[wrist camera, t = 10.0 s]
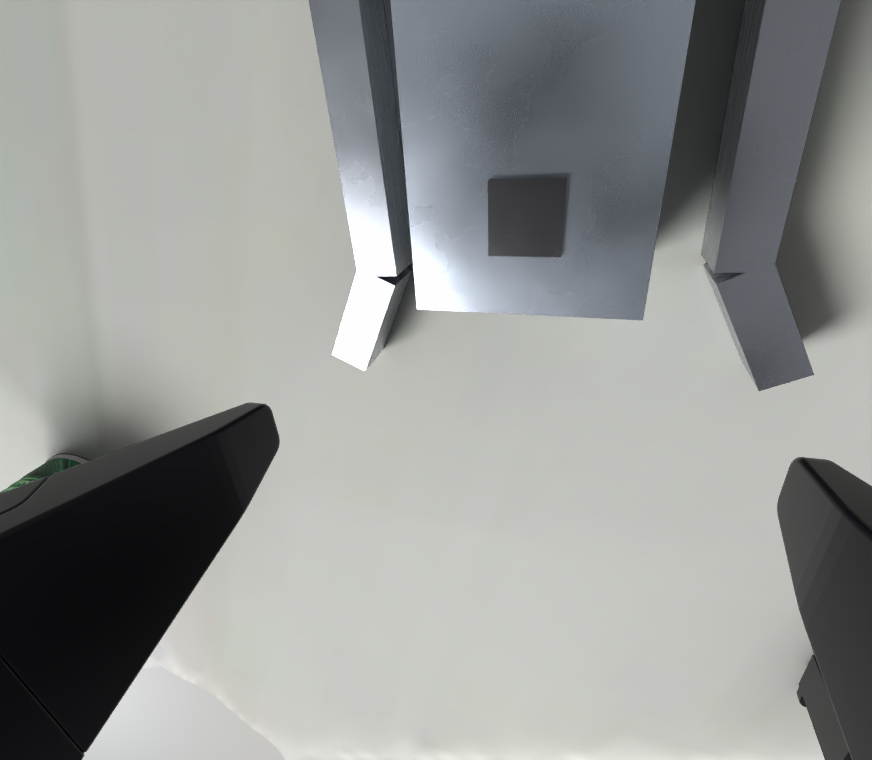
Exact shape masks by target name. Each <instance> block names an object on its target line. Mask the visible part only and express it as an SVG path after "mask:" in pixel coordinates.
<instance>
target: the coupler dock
mask: <svg viewBox="0 0 872 760" xmlns="http://www.w3.org/2000/svg"><path fill="white" fill-rule="evenodd" d="M840 3H841V0H745V4H744V10H743V16H742V22H741V28H740V33H739V39H738V45H737V51H736V56H735V62H734V68H733V74H732V80H731V85H730V91H729V97H728V103H727V108H726V114H725V120H724V126H723V131H722V137H721V143H720V149H719V155H718V160H717V166H716V172H715V178H714V183H713V189H712V195H711V201H710V207H709V212H708V218H707V224H706V230H705V235H704V241H703V247H702V253H701V255H702V256H703V258H704V259H705V261H706V262H707V264H705V265H704V268H705V270H706V273H707V275H708V278H709V280H710V283H711V285H712V288H713V290H714V293H715V295H716V297H717V300H718V302H719V305H720V307H721V310H722V312H723V315H724V317H725V320H726V322H727V325H728V327H729V330H730V332H731V335H732V337H733V340H734V342H735V345H736V347H737V350H738V352H739V355H740V357H741V360H742V362H743V364H744V366H745V368H746V369H747V371H748V373H749V375H750V376H751V378H752V380H753V382H754V383H755V385H756V387H757V389H758V390H759V391H761V390H765V389H768V388H771V387H775V386H778V385H781V384H785V383H788V382H791V381H795V380H798V379H801V378H805V377H808V376H811V375H814V373H813V371H812V368H811V365H810V362H809V359H808V356H807V353H806V351H805V348H804V345H803V342H802V339H801V336H800V333H799V331H798V328H797V325H796V322H795V319H794V316H793V313H792V311H791V308H790V305H789V302H788V299H787V296H786V293H785V291H784V288H783V285H782V282H781V279H780V276H779V273H778V271H777V268H776V265H775V262H776V258H777V254H778V250H779V246H780V242H781V238H782V234H783V230H784V226H785V222H786V218H787V214H788V210H789V206H790V202H791V198H792V194H793V190H794V186H795V182H796V178H797V174H798V170H799V166H800V163H801V159H802V155H803V151H804V147H805V143H806V139H807V135H808V131H809V127H810V123H811V119H812V115H813V111H814V107H815V103H816V99H817V95H818V91H819V87H820V83H821V79H822V75H823V71H824V67H825V63H826V59H827V55H828V51H829V47H830V43H831V39H832V35H833V31H834V27H835V23H836V19H837V15H838V11H839V7H840ZM309 5H310V10H311V16H312V21H313V27H314V33H315V38H316V44H317V49H318V55H319V61H320V66H321V72H322V77H323V83H324V89H325V94H326V100H327V105H328V111H329V117H330V122H331V128H332V133H333V139H334V145H335V150H336V156H337V161H338V167H339V173H340V178H341V184H342V189H343V195H344V201H345V206H346V212H347V217H348V223H349V229H350V234H351V240H352V245H353V251H354V257H355V262H356V268H357V271H356V275H355V278H354V281H353V285H352V288H351V292H350V295H349V299H348V302H347V305H346V309H345V312H344V316H343V319H342V323H341V326H340V329H339V333H338V336H337V340H336V343H335V347H334V350H333V353H332V355H333V356H335V357H337V358H340V359H342V360H344V361H346V362H348V363H350V364H352V365H354V366H356V367H358V368H360V369H362V370H364V371H366V369H367V368H368V367H369V366H370V365H371V363H372V362H373V361H374V360H375V359H376V357H377V356H378V355H379V354H380V353H381V351H382V350H383V348H384V345H385V343H386V340H387V337H388V334H389V332H390V329H391V326H392V324H393V321H394V318H395V315H396V313H397V310H398V307H399V304H400V302H401V299H402V296H403V293H404V291H405V288H406V285H407V282H408V280H409V277H410V274H411V272H412V269H411V268H408V267H407V266H408V265H410V264H411V263H412V262H413V259H412V248H411V236H410V224H409V212H408V204H407V195H406V187H405V178H404V170H403V161H402V153H401V145H400V136H399V128H398V119H397V111H396V102H395V94H394V85H393V77H392V69H391V60H390V52H389V43H388V35H387V26H386V18H385V9H384V1H383V0H309Z"/></svg>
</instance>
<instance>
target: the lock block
mask: <svg viewBox="0 0 872 760" xmlns="http://www.w3.org/2000/svg"><path fill="white" fill-rule="evenodd" d="M390 1H391V13H392V25H393V36H394V48H395V60H396V72H397V83H398V95H399V107H400V118H401V130H402V142H403V154H404V165H405V177H406V189H407V201H408V212H409V224H410V236H411V248H412V259H413V271H414V283H415V294H416V306H417V309H419V310H440V311H460V312H481V313H502V314H523V315H544V316H565V317H585V318H606V319H627V320H643V316H644V310H645V304H646V298H647V292H648V286H649V280H650V274H651V268H652V262H653V256H654V250H655V244H656V238H657V232H658V226H659V220H660V213H661V207H662V201H663V195H664V189H665V183H666V177H667V171H668V165H669V159H670V153H671V147H672V141H673V135H674V129H675V123H676V117H677V111H678V105H679V99H680V92H681V86H682V80H683V74H684V68H685V62H686V56H687V50H688V44H689V38H690V32H691V26H692V20H693V14H694V8H695V2H696V0H390Z"/></svg>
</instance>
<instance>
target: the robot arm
mask: <svg viewBox="0 0 872 760" xmlns="http://www.w3.org/2000/svg"><path fill="white" fill-rule="evenodd" d="M279 442H280V440H279V434H278V431H277V427H276V424H275V420H274V417H273V413H272V410H271V409H270V407H269V406H268V405H266V404H260V403H245V404H243V405H240V406H237V407H234V408H232V409H229V410H226V411H224V412H221V413H218V414H215V415H213V416H210V417H207V418H205V419H202V420H199V421H196V422H194V423H191V424H188V425H186V426H183V427H180V428H177V429H175V430H172V431H169V432H167V433H164V434H161V435H158V436H156V437H153V438H150V439H148V440H145V441H142V442H139V443H137V444H134V445H131V446H128V447H126V448H123V449H120V450H118V451H115V452H112V453H109V454H107V455H104V456H101V457H99V458H96V459H93V460H90V461H88V462H85V463H82V464H80V465H77V466H74V467H71V468H69V469H66V470H63V471H61V472H58V473H55V474H53V475H51V476H50V477H44V478H41V479H39V480H36V481H33V482H30V483H28V484H25V485H22V486H19V487H17V488H14V489H11V490H8V491H5V492H3V493H0V760H82V759H83V757H84V752H86V751H87V750H88V749H89V747H90V746H91V744H92V743H93V741H94V740H95V738H96V737H97V735H98V734H99V732H100V731H101V729H102V728H103V726H104V725H105V723H106V722H107V720H108V718H109V717H110V715H111V714H112V712H113V711H114V709H115V708H116V706H117V705H118V703H119V702H120V700H121V699H122V697H123V696H124V694H125V693H126V691H127V690H128V688H129V687H130V685H131V684H132V682H133V681H134V679H135V678H136V676H137V675H138V673H139V672H140V670H141V669H142V667H143V666H144V664H145V663H146V661H147V660H148V658H149V657H150V655H151V653H152V652H153V650H154V649H155V647H156V646H157V644H158V643H159V641H160V640H161V638H162V637H163V635H164V634H165V632H166V631H167V629H168V628H169V626H170V625H171V623H172V622H173V620H174V619H175V617H176V616H177V614H178V613H179V611H180V610H181V608H182V607H183V605H184V604H185V602H186V601H187V599H188V598H189V596H190V595H191V593H192V591H193V590H194V588H195V587H196V585H197V584H198V582H199V581H200V579H201V578H202V576H203V575H204V573H205V572H206V570H207V569H208V567H209V566H210V564H211V563H212V561H213V560H214V558H215V557H216V555H217V554H218V552H219V551H220V549H221V548H222V546H223V545H224V543H225V542H226V540H227V539H228V537H229V536H230V534H231V533H232V531H233V529H234V528H235V526H236V525H237V523H238V522H239V520H240V519H241V517H242V516H243V514H244V512H245V511H246V509H247V507H248V505H249V503H250V502H251V500H252V498H253V496H254V494H255V492H256V490H257V488H258V486H259V485H260V483H261V481H262V479H263V477H264V475H265V473H266V471H267V469H268V468H269V466H270V464H271V462H272V460H273V458H274V456H275V454H276V452H277V450H278V448H279ZM777 512H778V518H779V523H780V527H781V532H782V536H783V541H784V545H785V550H786V554H787V559H788V563H789V568H790V572H791V577H792V581H793V586H794V590H795V595H796V599H797V603H798V607H799V611H800V614H801V617H802V620H803V623H804V626H805V629H806V632H807V635H808V637H809V640H810V643H811V646H812V649H813V651H814V655H813V656H812V658H811V660H810V662H809V664H808V666H807V668H806V670H805V672H804V674H803V676H802V678H801V680H800V683H799V689H798V691H797V696H798V699H799V702H800V703H801V705H803V706H804V707H807V710H808V713H809V715H810V718H811V721H812V724H813V727H814V730H815V733H816V735H817V738H818V741H819V744H820V747H821V750H822V752H823V755H824V758H825V760H872V486H871V485H869V484H867V483H866V482H864V481H863V480H861V479H859V478H858V477H856V476H855V475H853V474H851V473H850V472H848V471H846V470H845V469H843V468H842V467H840V466H838V465H837V464H835V463H834V462H832V461H829V460H825V459H814V458H804V457H798V458H796V459H794V460H793V462H792V463H791V465H790V467H789V470H788V473H787V475H786V478H785V481H784V484H783V487H782V490H781V493H780V495H779V499H778V504H777Z"/></svg>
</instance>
